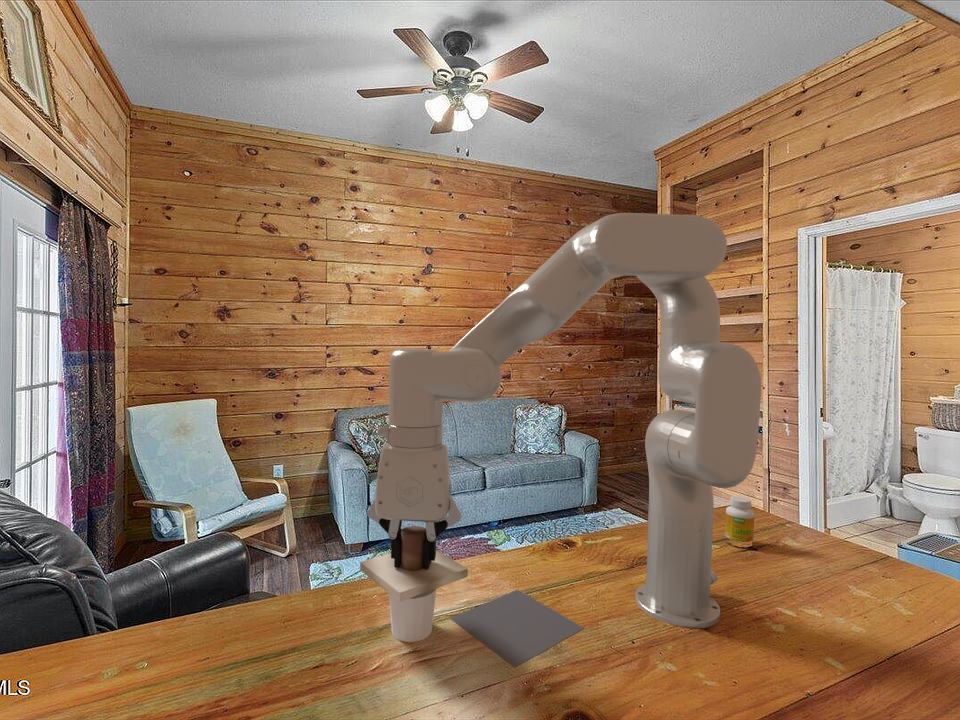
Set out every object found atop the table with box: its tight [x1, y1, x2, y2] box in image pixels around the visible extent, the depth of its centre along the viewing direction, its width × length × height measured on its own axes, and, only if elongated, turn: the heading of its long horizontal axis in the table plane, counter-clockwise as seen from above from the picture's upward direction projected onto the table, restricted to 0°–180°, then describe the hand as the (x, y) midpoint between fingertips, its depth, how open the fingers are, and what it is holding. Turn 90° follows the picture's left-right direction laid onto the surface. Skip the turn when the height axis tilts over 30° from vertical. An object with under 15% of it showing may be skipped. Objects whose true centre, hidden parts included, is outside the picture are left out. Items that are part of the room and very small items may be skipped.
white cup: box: [388, 588, 437, 643], centre depth 71 cm, size 7×7×7 cm
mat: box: [449, 589, 585, 668], centre depth 73 cm, size 14×14×1 cm
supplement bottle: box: [724, 495, 755, 542], centre depth 105 cm, size 5×5×10 cm
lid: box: [359, 525, 469, 602], centre depth 70 cm, size 11×11×6 cm
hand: (413, 562), depth 71 cm, fingers closed on lid, 3 cm apart
